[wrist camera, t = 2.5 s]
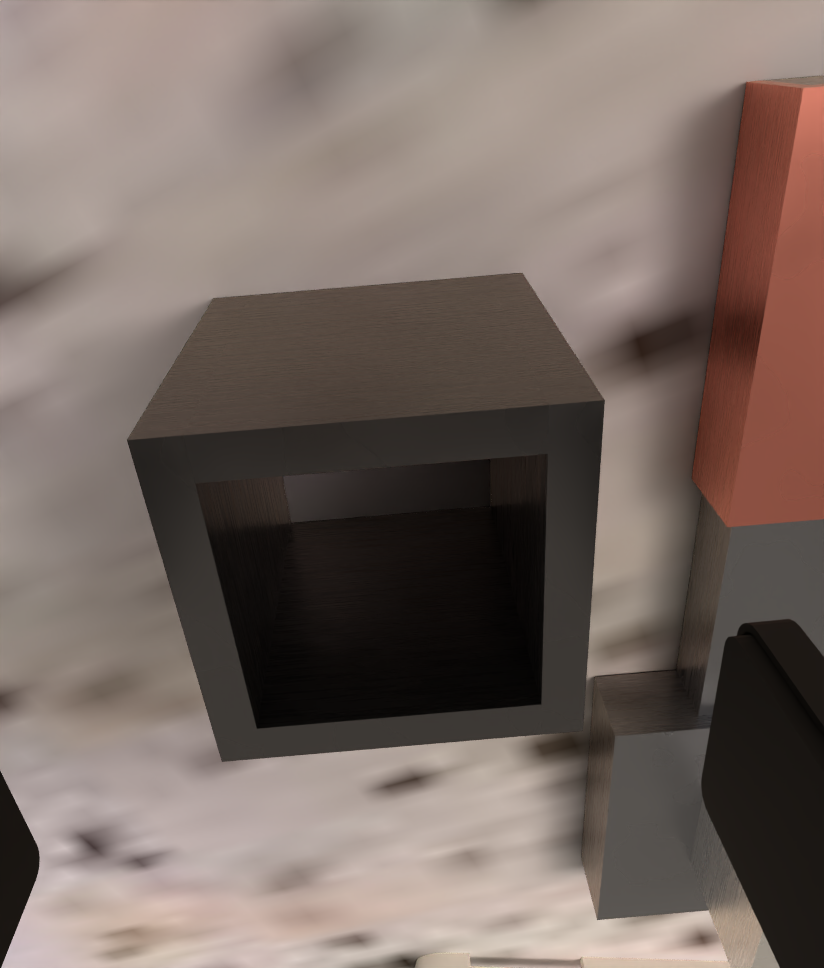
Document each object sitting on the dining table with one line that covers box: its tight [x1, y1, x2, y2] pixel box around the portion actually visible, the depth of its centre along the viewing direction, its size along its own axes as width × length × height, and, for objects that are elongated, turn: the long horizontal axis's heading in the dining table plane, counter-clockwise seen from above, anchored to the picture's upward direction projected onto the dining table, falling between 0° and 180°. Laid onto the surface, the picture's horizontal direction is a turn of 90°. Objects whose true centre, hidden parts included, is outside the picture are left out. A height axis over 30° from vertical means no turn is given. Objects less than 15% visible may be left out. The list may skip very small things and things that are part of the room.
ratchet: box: [581, 76, 824, 968], centre depth 16 cm, size 22×8×6 cm, turn 4°
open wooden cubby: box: [127, 273, 605, 762], centre depth 14 cm, size 6×6×6 cm
